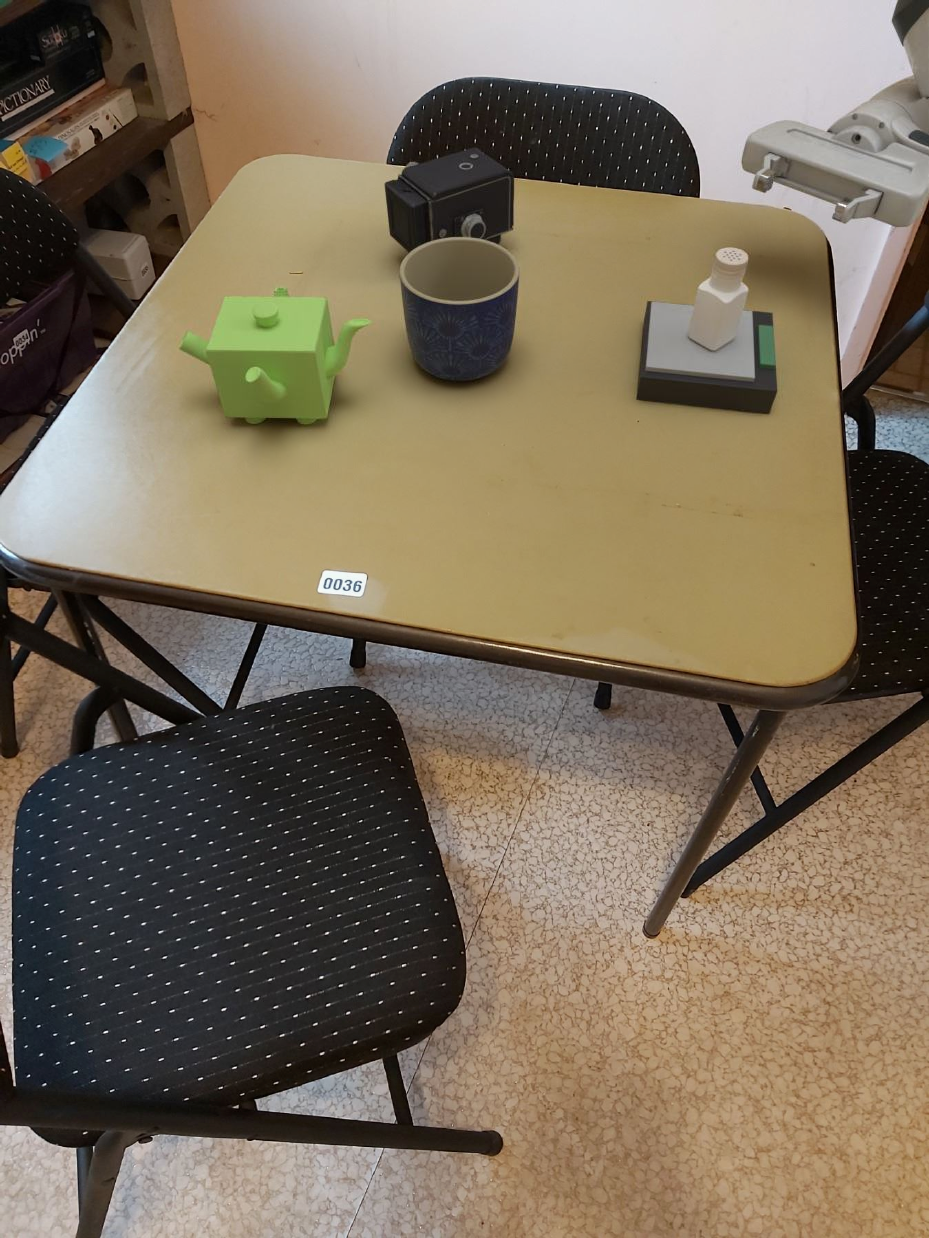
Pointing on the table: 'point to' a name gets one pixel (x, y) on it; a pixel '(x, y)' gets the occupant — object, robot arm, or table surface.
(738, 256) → the pepper shaker
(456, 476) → the table surface
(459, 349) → the planter
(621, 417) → the table surface
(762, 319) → the scale
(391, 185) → the camera
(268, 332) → the kettle
